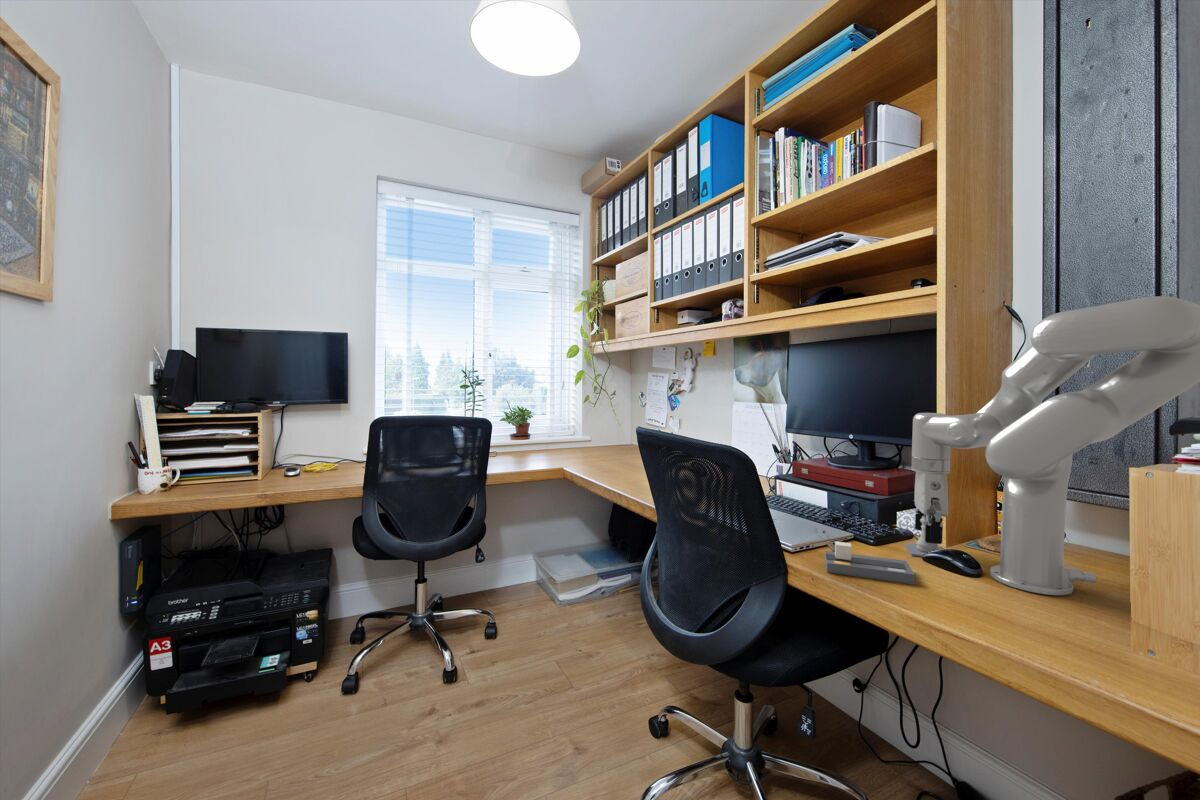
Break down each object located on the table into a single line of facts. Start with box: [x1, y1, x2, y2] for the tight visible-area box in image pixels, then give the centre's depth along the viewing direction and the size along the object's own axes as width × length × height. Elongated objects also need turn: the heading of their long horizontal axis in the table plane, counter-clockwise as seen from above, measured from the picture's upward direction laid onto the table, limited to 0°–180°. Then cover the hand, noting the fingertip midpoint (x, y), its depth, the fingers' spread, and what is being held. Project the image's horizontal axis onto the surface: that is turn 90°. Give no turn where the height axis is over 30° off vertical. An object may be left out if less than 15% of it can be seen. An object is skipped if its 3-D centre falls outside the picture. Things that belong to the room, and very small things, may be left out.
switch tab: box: [834, 540, 853, 560], centre depth 105 cm, size 3×2×3 cm
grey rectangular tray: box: [824, 550, 916, 585], centre depth 103 cm, size 16×8×2 cm, turn 68°
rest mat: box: [904, 542, 945, 558], centre depth 114 cm, size 8×8×1 cm
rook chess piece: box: [916, 516, 939, 553], centre depth 114 cm, size 4×4×8 cm
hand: (927, 536), depth 114 cm, fingers open, 9 cm apart
